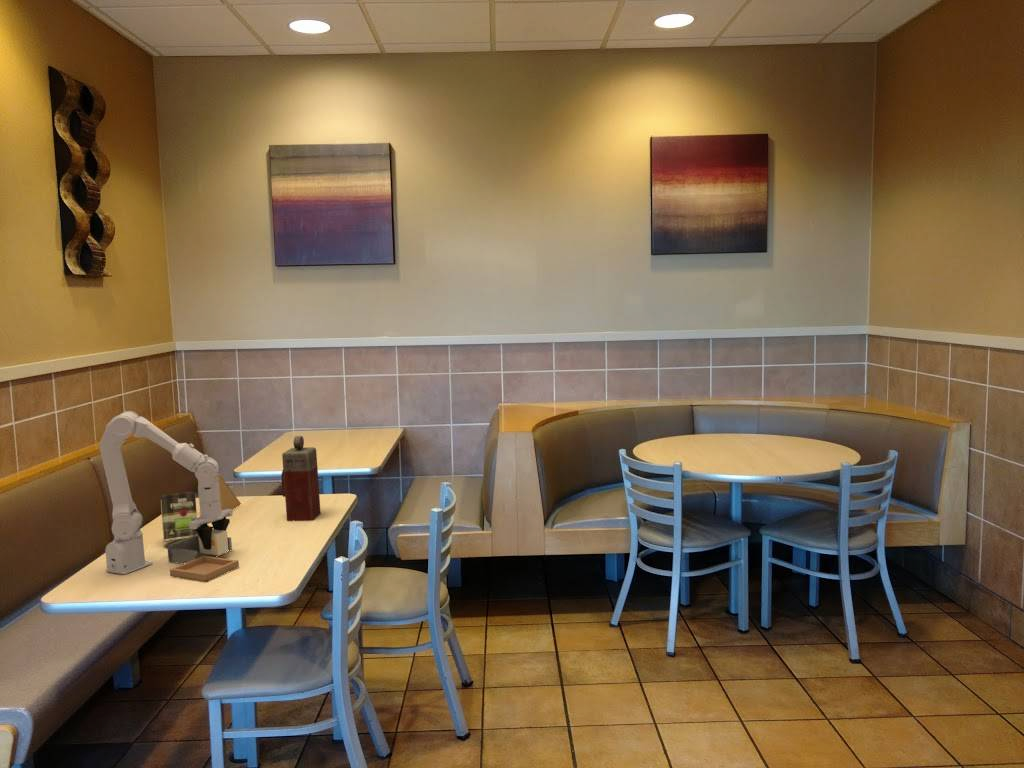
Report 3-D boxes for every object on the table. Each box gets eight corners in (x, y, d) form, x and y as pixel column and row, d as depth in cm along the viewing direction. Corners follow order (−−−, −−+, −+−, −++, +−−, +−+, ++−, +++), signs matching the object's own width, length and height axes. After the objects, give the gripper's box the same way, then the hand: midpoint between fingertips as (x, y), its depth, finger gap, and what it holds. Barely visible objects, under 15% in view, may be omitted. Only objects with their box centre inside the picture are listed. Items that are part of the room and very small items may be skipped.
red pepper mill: (289, 513, 276) (283, 434, 273) (320, 513, 275) (315, 433, 272) (279, 521, 267) (273, 439, 264) (312, 520, 267) (306, 438, 263)
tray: (205, 582, 211) (205, 574, 211) (170, 576, 216) (169, 569, 216) (238, 567, 222) (238, 560, 222) (204, 562, 227) (203, 555, 227)
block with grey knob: (217, 555, 227) (216, 532, 227) (199, 552, 230) (197, 530, 230) (228, 550, 231) (226, 528, 230) (210, 548, 234) (208, 526, 233)
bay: (195, 565, 225) (194, 548, 224) (168, 561, 229) (167, 544, 229) (232, 550, 237) (230, 534, 237) (206, 547, 242) (204, 531, 241)
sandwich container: (243, 504, 293) (239, 464, 291) (224, 516, 278) (220, 474, 276) (220, 504, 294) (217, 465, 292) (200, 516, 278) (197, 474, 277)
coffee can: (203, 536, 245) (199, 490, 247) (167, 541, 239) (164, 494, 241) (194, 538, 253) (190, 493, 255) (159, 542, 247) (156, 497, 249)
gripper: (200, 508, 221) (204, 555, 222) (238, 495, 234) (242, 540, 235) (182, 506, 224) (186, 553, 225) (220, 493, 237) (224, 538, 238)
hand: (213, 546), depth 231 cm, fingers closed on block with grey knob, 4 cm apart
